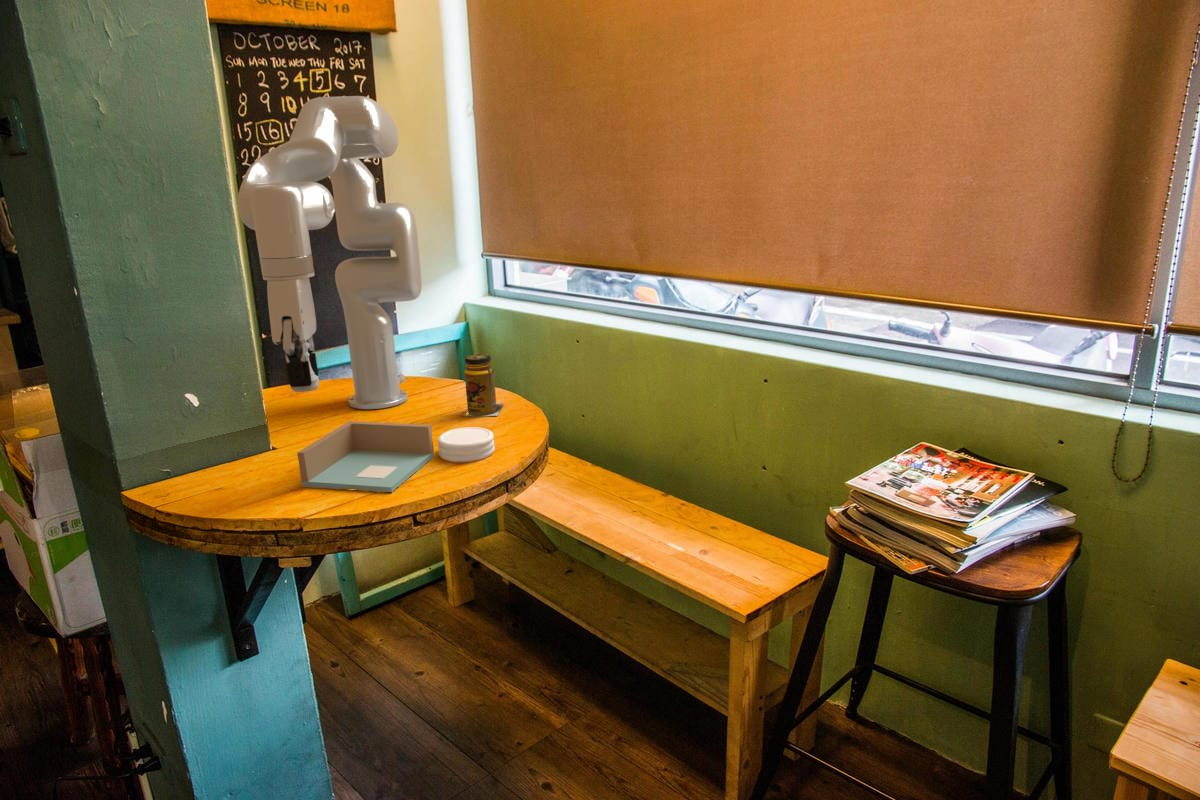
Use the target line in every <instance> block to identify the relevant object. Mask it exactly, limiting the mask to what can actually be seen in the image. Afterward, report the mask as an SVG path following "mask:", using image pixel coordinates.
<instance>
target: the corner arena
mask: <svg viewBox="0 0 1200 800" xmlns="http://www.w3.org/2000/svg"><path fill="white" fill-rule="evenodd" d="M432 430H433V429H432V424H417V423H400V422H399V423H398V422H397V423H395V422H377V421H375V422H374V421H373V422H372V421H357V420H356V421H354V420H353V421H352V420H349V421H346V422H345V423H343V424H342V425H340V426H339V427H337V428H336V429H333V430H332V431H330V432H329V433H327V434H326V435H324V436H322V437H320V438H319V439H317V440H315V441H314V442H313V443H310V444H309V445H307V446H305V447H304V448H302V449H301V450H298V451H297V452H296V453H297V460H298V465H299V473H300V479H301V486H302V488H311V489H325V488H327V490H340V489H354V490H353V491H355V489H356V490H367V491H366V492H369V491H380V492H379V493H384V492H393V491H394V490H395V489H396V488H397V487H398V488H400V487H401V486H402V485H403V484H404V483H405V482H406V481H405V480H407V479H408V478H409V477H410V476H411V475H412V474H414V473H415V472H416V471H417V472H418V471H420V470H421V469H422V468H423V467H424V466H425V465H427V464H426V463H429V462H430V461H431V460H432V459H434V458H435V451H434V450H435V449H434V441H433V440H434V439H433V431H432ZM428 461H429V462H428ZM422 466H423V467H422ZM421 467H422V468H421ZM420 468H421V469H420ZM417 472H416V473H417ZM416 473H415V474H416ZM415 474H414V475H415ZM412 476H413V475H412ZM412 476H411V477H412ZM411 477H410V478H411ZM410 478H409V479H410ZM409 479H408V480H409ZM408 480H407V481H408ZM404 481H405V482H404ZM403 482H404V483H403ZM402 483H403V484H402ZM401 484H402V485H401ZM400 485H401V486H400ZM399 486H400V487H399ZM328 488H329V489H328ZM398 488H397V489H398ZM397 489H396V490H397ZM396 490H395V491H396ZM395 491H394V492H395ZM394 492H393V493H394Z"/></svg>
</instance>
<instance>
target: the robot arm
mask: <svg viewBox="0 0 1200 800" xmlns="http://www.w3.org/2000/svg"><path fill="white" fill-rule="evenodd" d="M398 133H399V132H398V129H397V127H396V123H395V121H394V119H393V117H392V116H391V115H390V113H388V112H387V110H386V109H384V107H383V106H382V105H381V104H380V103H379V102H377V101H376V100H374V99H373V98H370V97H367V96H362V95H348V96H346V95H345V96H344V95H343V96H340V95H339V96H319V97H315V98H311V99H309V100H307V101H306V102H304V104H303V106H302V107H301V109H300V112H299V114H298V117H297V119H296V122H295V125H294V127H293V130H292V132H291V135H290V137H289V141H286V142H284V143H282V144H280V145H278V146H277V147H276V148H273V149H272V150H271V151H269V152H267V153H265V154H264V155H262V156H260V157H259V158H258V159H256V160H255V161H254V162H253V163H252V164H251V165H249V167H248V169H247V170H246V173H245V175H244V177H243V179H242V181H241V185H240V187H239V191H238V195H237V211H238V215H239V217H240V219H241V221H242V222H243V224H244V225H245V226H246V227H248V228H249V229H250V230H253V231H255V240H256V244H257V250H258V251H257V252H258V257H259V265H260V269H261V275H262V280H264V281H266V282H267V283H266V284H267V285H266V288H267V289H266V292H267V293H266V294H267V306H268V315H269V322H270V325H269V326H270V331H271V338H272V339H271V340H272V343H273V344H275V345H280V344H281V343H282V347H283V348H282V349H283V351H284V355H285V361H286V369H287V374H288V381H289V386H290V388H291V387H302V386H310V385H311V384H312V381H311V374H310V368H309V361H310V364H311V368H312V370H313V372H315V373H314V374H315V375H316V376H317V377H319V371H318V370H319V369H318V363H317V362H318V361H317V355H316V352H315V351H316V350H315V348H316V347H315V344H314V339H313V337H314V336H313V335H315V332H316V331H317V318H316V310H315V303H314V298H313V293H312V287H311V283H310V282H311V281H310V278H312V277H314V276H316V275H315V269H314V268H315V267H314V261H313V254H312V249H311V248H312V247H311V240H310V239H311V238H310V233H309V231H313V230H315V231H316V230H320V229H323V228H326V227H327V226H328V225H329V224H330V223H331V221H332V220H333V217H334V214H335V219H336V227H337V234H338V239H339V241H340V244H341V245H342V247H343V248H345V249H347V250H349V251H356V252H357V251H362V252H363V251H366V252H367V251H368V252H369V251H393V252H394V253H395V255H393V256H364V257H361V256H360V257H353V258H348V259H345V260H343V261H341V262H340V263H339V264H338V266H337V267H336V269H335V274H334V278H335V279H334V281H335V284H336V288H337V292H338V294H339V295H338V296H339V298H340V301H341V302H340V303H341V306H342V310H343V315H344V321H345V327H346V335H347V344H348V349H349V352H348V353H349V357H350V365H351V373H352V381H353V389H354V394H353V395H351V396H350V397H349V398H348V401H347V402H348V405H349V406H350V407H351V408H354V409H357V410H379V409H387V408H392V407H395V406H399V405H401V404H404V402H406V401H407V400H408V392H406V391H405V390H403V389H400V385H401V384H402V383H404V382H405V381H406V376H405V375H404V374H401V373H400V374H398V364H397V355H396V348H395V337H394V329H393V323H392V320H391V318H390V316H389V315H388V313H387V311H385V310H384V308H382V307H381V305H380V303H381V304H382V303H394V302H395V303H397V302H398V303H399V302H410V301H414V300H417V299H418V298H419V297H420V295H421V291H422V270H421V261H420V250H419V249H420V248H419V241H418V240H419V239H418V231H417V229H418V228H417V223H416V219H415V215H414V214H413V211H412V209H411V208H410V207H409V206H408V205H407V204H404V203H401V202H399V203H398V202H387V203H385V202H383V203H380V202H379V201H378V198H377V189H376V181H375V177H374V175H373V174H372V173H371V170H369V169H368V167H367V166H366V165H365V164H364V163H363V162H362V161H361V160H360V159H385V158H386V159H387V158H389V157H392V156H393V155H394V154H395V152H396V151H397V149H398V145H399V134H398ZM328 177H329V179H330V182H331V185H332V186H331V187H332V192H333V195H332V194H331V191H330V190H329V189H328V188H327V187H326V186H324V184H321V183H319V181H321V180H323V179H325V178H328ZM294 339H297V342H294ZM298 341H300V342H298ZM305 341H307V343H308V344H309V345H310V346H309V348H308V353H309V354H310V355H309V361H306V353H305V343H304V342H305ZM295 346H300V351H299V349H298V348H295Z"/></svg>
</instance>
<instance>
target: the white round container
mask: <svg viewBox="0 0 1200 800" xmlns="http://www.w3.org/2000/svg"><path fill="white" fill-rule="evenodd" d="M494 437H495V436H494V433H493V432H492V431H491V430H490V429H487V428H484V427H476V426H473V427H472V426H467V427H459V428H458V427H457V428H454V429H450V430H447V431H445V432H443V433H442V434H440V435H439V436H438V438H437V444H438V447H437V449H438V455H439V457H440V458H441V459H442V460H444V461H447V462H451V463H471V462H477V461H481V460H483V459H486V458H488V457H490V456H491V455H493V453H494V452H495V448H496V447H495V441H494Z"/></svg>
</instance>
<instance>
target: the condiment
mask: <svg viewBox="0 0 1200 800" xmlns="http://www.w3.org/2000/svg"><path fill="white" fill-rule="evenodd" d="M491 361H492V357H491V356H490V355H489V354H485V353H479V354H478V353H477V354H476V353H475V354H471V355H470V354H469V355H467V356H466V357H465V359H464V362H465V366H464V367H465V370H464V372H463V373H464V381H465V383H464V384H465V394H466V395H465V396H466V405H467V409H466V411H467V412H468V413H469V414H468V415H467V416H466V413H467V412H466V411H465V413H464V414H463V415H464V416H463V417H464V418H465V417H493V416H496V417H498V415H499V414H500V412H501V411H502V408H503V406H504V404H505V402H501V403H497V393H496V385H495V384H496V383H495V382H496V381H495V371H494V368H493V366H492V362H491Z"/></svg>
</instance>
